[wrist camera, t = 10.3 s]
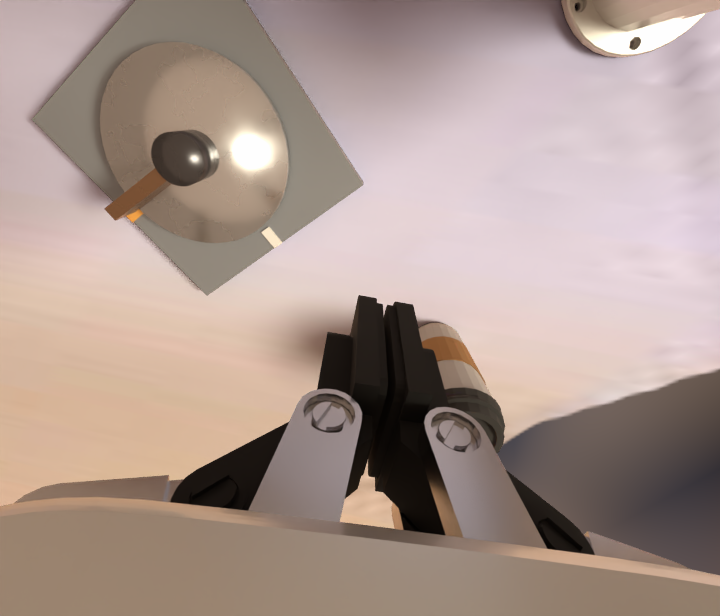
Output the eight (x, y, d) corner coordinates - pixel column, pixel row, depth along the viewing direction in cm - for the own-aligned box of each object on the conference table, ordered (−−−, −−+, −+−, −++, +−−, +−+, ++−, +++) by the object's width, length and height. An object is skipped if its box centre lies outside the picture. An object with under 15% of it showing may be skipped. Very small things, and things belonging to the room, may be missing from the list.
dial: (204, -6, 27) (174, -27, 23) (324, 184, 33) (318, 194, 29) (66, 124, 31) (20, 126, 27) (196, 269, 38) (175, 288, 34)
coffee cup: (394, 319, 42) (406, 413, 29) (465, 308, 41) (510, 400, 28) (404, 373, 46) (418, 477, 33) (469, 364, 45) (510, 467, 32)
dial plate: (205, -62, 27) (195, -72, 25) (363, 182, 35) (363, 185, 33) (45, 119, 33) (29, 119, 31) (212, 289, 41) (206, 296, 39)
